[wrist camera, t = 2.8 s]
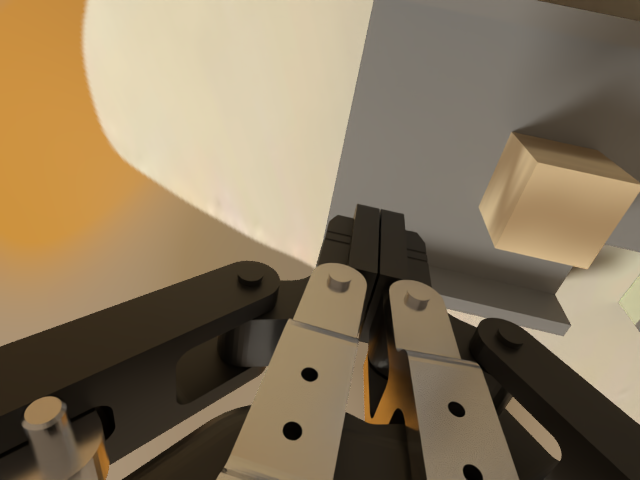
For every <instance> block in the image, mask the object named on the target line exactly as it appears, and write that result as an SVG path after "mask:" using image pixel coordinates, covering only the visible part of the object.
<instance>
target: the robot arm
mask: <svg viewBox="0 0 640 480" xmlns="http://www.w3.org/2000/svg"><path fill="white" fill-rule="evenodd" d="M427 262H428V259H427V255H426V246H425V242H424V241H423V240H422V238H421V237H420V236H419V234H418V233H417V232H413V231H408V230H405V219H404V214H402V213H398V212H393V211H389V210H384V209H381V210H380V209H379V208H375V207H370V206H366V205H361V204H357V205H356V209H355V213H354V217H353V218H350V217H346V216H341V215H337V216H335V217H334V218H333V219H331V220H330V221H329V224H328V227H327V232H326V235H325V239H324V243H323V247H322V251H321V255H320V258H319V262H318V266H317V267H316V268H315V269H314V270H313V272H312V274H311V275H310V276H309V277H307V278H304V279H300V280H293V281H280V279H279V276H278V274H277V272H276V271H275V270H274V269H272V268H271V267H269V266H267V265H265V264H263V263H260V262H255V261H241V262H236V263H233V264H230V265H227V266H224V267H222V268H219V269H216V270H213V271H210V272H208V273H205V274H202V275H199V276H196V277H193V278H191V279H188V280H185V281H182V282H179V283H177V284H174V285H171V286H168V287H166V288H163V289H160V290H157V291H154V292H152V293H149V294H146V295H143V296H140V297H138V298H135V299H132V300H129V301H127V302H124V303H121V304H118V305H115V306H112V307H110V308H107V309H104V310H101V311H98V312H96V313H93V314H90V315H88V316H85V317H82V318H79V319H76V320H73V321H70V322H68V323H65V324H62V325H59V326H56V327H54V328H51V329H48V330H45V331H42V332H40V333H37V334H34V335H31V336H29V337H26V338H23V339H20V340H17V341H15V342H12V343H9V344H6V345H4V346H1V347H0V480H106V478H107V476H108V471H109V465H111V464H112V463H114V462H116V461H117V460H119V459H121V458H122V457H124V456H126V455H127V454H129V453H131V452H132V451H134V450H136V449H137V448H139V447H141V446H142V445H144V444H146V443H147V442H149V441H151V440H152V439H154V438H156V437H157V436H159V435H161V434H162V433H164V432H166V431H167V430H169V429H171V428H172V427H174V426H176V425H177V424H179V423H181V422H182V421H184V420H186V419H187V418H189V417H190V416H192V415H194V414H196V413H197V412H199V411H201V410H202V409H204V408H206V407H207V406H209V405H211V404H212V403H214V402H216V401H217V400H219V399H221V398H222V397H224V396H226V395H227V394H229V393H231V392H232V391H234V390H236V389H237V388H239V387H241V386H242V385H244V384H246V383H247V382H249V381H250V380H252V379H254V378H256V377H257V376H259V375H260V374H261V373H262V372H263V371H264V370H265V368H266V366H268V368H267V370H266V372H265V375H264V377H263V379H262V382H261V384H260V386H259V389H258V392H257V394H256V396H255V398H254V401H253V403H252V405H249V406H244V407H240V408H237V409H234V410H231V411H229V412H226V413H223V414H222V415H219V416H218V417H215V418H213V419H212V420H210V421H208V422H207V423H206V424H204V425H202V426H201V427H199V428H198V429H196V430H195V431H193V432H192V433H190V434H189V435H188V436H186V437H184V438H183V439H182V440H180V441H178V442H177V443H175V444H174V445H173V446H171V447H170V448H168V449H167V450H165V451H164V452H162V453H161V454H159V455H158V456H156V457H155V458H153V459H152V460H150V461H149V462H147V463H146V464H145V465H143V466H141V467H140V468H138V469H137V470H136V471H134V472H133V473H131V474H130V475H128V476H127V477H125V478H124V479H122V480H640V425H639V424H638V423H637V422H635V421H634V420H633V419H632V418H631V417H629V416H628V415H627V414H626V413H625V412H623V411H622V410H621V409H620V408H619V407H617V406H616V405H615V404H614V403H612V402H611V401H610V400H609V399H608V398H606V397H605V396H604V395H603V394H602V393H600V392H599V391H598V390H597V389H596V388H594V387H593V386H592V385H591V384H590V383H588V382H587V381H586V380H585V379H583V378H582V377H581V376H580V375H579V374H577V373H576V372H575V371H574V370H573V369H571V368H570V367H569V366H568V365H567V364H565V363H564V362H563V361H562V360H560V359H559V358H558V357H557V356H556V355H554V354H553V353H552V352H551V351H550V350H548V349H547V348H546V347H545V346H544V345H542V344H541V343H540V342H539V341H538V340H536V339H535V338H534V337H533V336H531V335H530V334H529V333H528V332H527V331H525V330H524V329H523V328H521V327H520V326H518V325H516V324H514V323H512V322H510V321H507V320H504V319H500V318H486V319H484V320H482V321H481V322H480V323H479V325H478V327H477V328H476V327H474V326H472V325H470V324H468V323H466V322H463V321H461V320H459V319H457V318H455V317H453V316H452V315H450V314H449V313H447V309H446V306H445V303H444V300H443V298H442V297H441V296H440V294H439V293H438V292H436V291H435V290H434V289H433V288H432V285H431V278H430V272H429V266H428V263H427ZM358 333H359V339H358V338H357V336H358ZM359 341H361V342H365V343H368V352H367V355H366V358H365V361H364V364H363V379H364V380H363V381H364V413H365V414H364V416H365V421H363V420H361V419H358V418H357V417H355V416H353V415H351V414H349V413H346V407H347V402H348V396H349V391H350V386H351V380H352V375H353V369H354V364H355V359H356V353H357V348H358V342H359ZM512 397H514V398H515V399H516V400H517V401H518V402H519V403H520V404H521V405H522V406H523V407H524V408H525V409H526V410H527V411H528V412H529V413H530V414H532V416H533V417H534V418H535V419H536V420H537V421H538V422H539V423H540V424H541V425H542V426H543V427H544V428H545V429H546V430H547V431H548V432H549V433H550V434H551V435H552V436H553V437H554V438H555V439H556V441H557V442H558V444H559V446H560V449H561V453H562V458H561V460H560V461H558V460H556V459H555V458H553V457H552V456H551V455H550V454H549V453H548V452H547V451H546V450H545V449H544V448H543V447H542V446H541V445H540V444H539V443H538V442H537V441H536V440H535V439H534V438H533V437H532V436H531V435H530V434H529V432H527V430H526V429H525V428H524V427H523V426H522V425H521V424H520V423H519V422H518V421H517V420H516V419H515V418H514V417H513V416H512V415H511V414H510V413H509V412H508V411H507V410H506V409H505V407H506V406H507V404H508V403H509V401H510V400H511V398H512Z"/></svg>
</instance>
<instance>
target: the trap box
mask: <svg viewBox="0 0 640 480" xmlns="http://www.w3.org/2000/svg"><path fill="white" fill-rule="evenodd" d="M511 132H515V133H520V134H525V135H529V136H534V137H538V138H543V139H548V140H552V141H557V142H562V143H566V144H571V145H575V146H580V147H585V148H589V149H594V150H598V151H599V152H601V153H602V154H603V155H605V156H606V157H607V158H609V159H610V160H611V161H612V162H614V163H615V164H616V165H618V166H619V167H620V168H622V169H623V170H624V171H625V172H627V173H628V174H629V175H631V176H632V177H633V178H635V179H636V180H637V181H638V182H640V21H637V20H632V19H627V18H622V17H617V16H612V15H607V14H602V13H597V12H592V11H587V10H582V9H577V8H572V7H567V6H562V5H558V4H553V3H548V2H543V1H538V0H374V2H373V6H372V11H371V16H370V21H369V25H368V30H367V35H366V40H365V44H364V49H363V54H362V59H361V63H360V68H359V73H358V78H357V82H356V87H355V92H354V97H353V101H352V106H351V111H350V116H349V120H348V125H347V130H346V135H345V139H344V144H343V149H342V154H341V158H340V163H339V168H338V173H337V178H336V182H335V187H334V192H333V197H332V201H331V206H330V211H329V216H328V220H327V225H326V230H325V235H326V232H327V227H328V224H329V221H330V220H331V219H333V218H334V217H335V216H337V215H341V216H346V217H350V218H353V217H354V213H355V209H356V205H357V204H361V205H366V206H370V207H375V208H379V209H380V210H381V209H384V210H389V211H393V212H398V213H402V214H404V219H405V230H408V231H413V232H417V233H418V234H419V236H420V237H421V238H422V240H423V241H424V242H425V246H426V255H427V259H428V262H427V263H428V266H429V272H430V278H431V285H432V288H433V289H434V290H435V291H436V292H438V293H439V294H440V296H441V297H442V298H443V300H444V303H445V306H446V309H450V310H455V311H459V312H463V313H467V314H472V315H476V316H480V317H484V318H500V319H504V320H507V321H510V322H512V323H514V324H516V325H518V326H522V327H527V328H531V329H535V330H539V331H544V332H548V333H552V334H556V335H561V336H564V335H565V333H566V332H567V331H568V329H569V328H570V326H571V324H570V322H569V320H568V318H567V317H566V315H565V313H564V311H563V309H562V307H561V305H560V303H559V302H558V300H557V298H556V296H555V293H556V292H557V290H558V289H559V287H560V286H561V284H562V283H563V281H564V280H565V278H566V276H567V275H568V273H569V272H570V270H571V269H572V267H573V266H570V265H566V264H562V263H557V262H553V261H549V260H544V259H540V258H535V257H531V256H527V255H522V254H518V253H514V252H509V251H505V250H500V249H496V248H495V247H494V245H493V242H492V240H491V237H490V235H489V232H488V229H487V227H486V224H485V222H484V219H483V217H482V214H481V212H480V209H479V205H480V202H481V200H482V198H483V195H484V193H485V191H486V189H487V186H488V184H489V182H490V180H491V177H492V175H493V173H494V170H495V168H496V166H497V164H498V161H499V159H500V157H501V154H502V152H503V150H504V148H505V145H506V143H507V141H508V139H509V136H510V134H511ZM325 235H324V239H325ZM324 239H323V243H324ZM323 243H322V247H323ZM605 245H610V246H614V247H619V248H623V249H627V250H632V251H636V252H640V192H639V193H638V195H637V196H636V198H635V199H634V201H633V202H632V204H631V205H630V207H629V208H628V210H627V211H626V213H625V214H624V216H623V217H622V219H621V220H620V222H619V223H618V225H617V226H616V228H615V229H614V231H613V232H612V234H611V235H610V237H609V238H608V239H607V241H606V242H605ZM322 247H321V250H320V254H319V257H318V261H317V264H316V267H317V266H318V262H319V258H320V255H321V251H322ZM618 303H619V304H620V305H621V307H622V308H623V310H624V311H625V312H626V314H627V315H628V316H629V318H630V319H631V321H632V322H633V323H634V325H635V326H636V327H637V329H638V330H639V332H640V275H639V277H638V278H637V279H636V280H635V282H634V283H633V284H632V286H631V287H630V288H629V290H628V291H627V292H626V293H625V295H624V296H623V297H622V299H621V300H620V301H619V302H618Z"/></svg>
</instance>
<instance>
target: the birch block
mask: <svg viewBox="0 0 640 480" xmlns="http://www.w3.org/2000/svg"><path fill="white" fill-rule="evenodd" d="M639 192H640V182H638V181H637V180H636V179H635V178H633V177H632V176H631V175H629V174H628V173H627V172H625V171H624V170H623V169H622V168H620V167H619V166H618V165H616V164H615V163H614V162H612V161H611V160H610V159H609V158H607V157H606V156H605V155H603V154H602V153H601V152H599V151H598V150H594V149H589V148H585V147H580V146H575V145H571V144H566V143H562V142H557V141H552V140H548V139H543V138H538V137H534V136H529V135H525V134H520V133H515V132H511V134H510V136H509V139H508V141H507V143H506V145H505V148H504V150H503V152H502V154H501V157H500V159H499V161H498V164H497V166H496V168H495V170H494V173H493V175H492V177H491V180H490V182H489V184H488V186H487V189H486V191H485V193H484V195H483V198H482V200H481V202H480V205H479V209H480V212H481V214H482V217H483V219H484V222H485V224H486V227H487V229H488V232H489V235H490V237H491V240H492V242H493V245H494V247H495V248H496V249H500V250H505V251H509V252H514V253H518V254H522V255H527V256H531V257H535V258H540V259H544V260H549V261H553V262H557V263H562V264H566V265H570V266H575V267H579V268H584V269H588V268H589V266H590V265H591V263H592V262H593V260H594V259H595V257H596V256H597V254H598V253H599V251H600V250H601V248H602V247H603V245H604V244H605V242H606V241H607V239H608V238H609V237H610V235H611V234H612V232H613V231H614V229H615V228H616V226H617V225H618V223H619V222H620V220H621V219H622V217H623V216H624V214H625V213H626V211H627V210H628V208H629V207H630V205H631V204H632V202H633V201H634V199H635V198H636V196H637V195H638V193H639Z"/></svg>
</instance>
